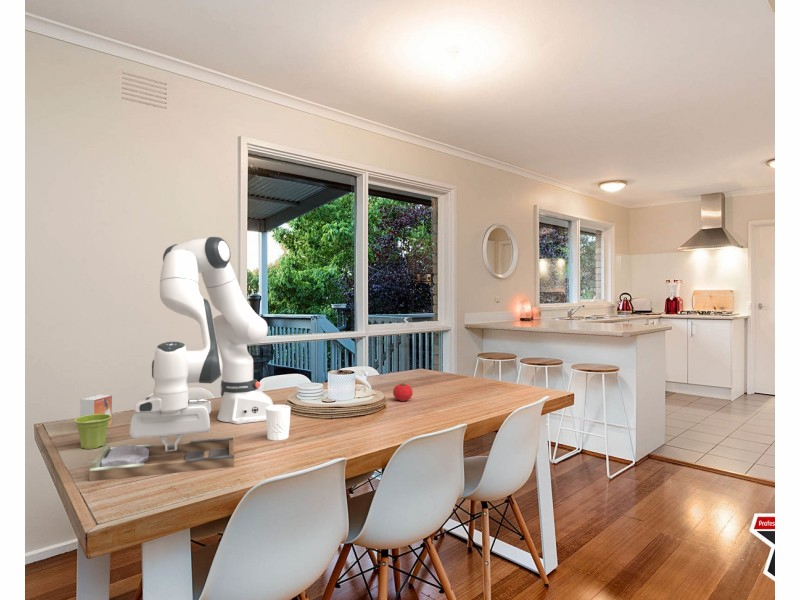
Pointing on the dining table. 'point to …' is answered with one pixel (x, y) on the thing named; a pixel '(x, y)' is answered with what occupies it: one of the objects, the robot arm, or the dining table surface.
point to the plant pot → (92, 430)
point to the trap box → (189, 464)
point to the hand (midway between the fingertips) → (171, 450)
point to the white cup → (278, 422)
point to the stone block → (125, 456)
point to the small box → (96, 406)
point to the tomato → (402, 392)
